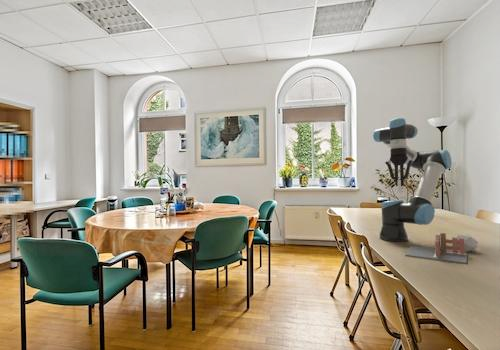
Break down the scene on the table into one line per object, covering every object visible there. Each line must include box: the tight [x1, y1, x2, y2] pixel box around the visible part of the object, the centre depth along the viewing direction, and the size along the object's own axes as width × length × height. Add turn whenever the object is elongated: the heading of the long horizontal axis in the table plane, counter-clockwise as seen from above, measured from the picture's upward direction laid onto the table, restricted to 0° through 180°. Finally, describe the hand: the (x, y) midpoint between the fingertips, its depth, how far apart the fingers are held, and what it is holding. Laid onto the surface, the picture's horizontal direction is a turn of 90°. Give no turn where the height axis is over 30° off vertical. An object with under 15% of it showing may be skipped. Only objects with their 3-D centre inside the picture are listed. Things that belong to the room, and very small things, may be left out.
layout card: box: [404, 245, 468, 265], centre depth 131 cm, size 20×23×1 cm
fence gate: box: [434, 234, 441, 257], centre depth 129 cm, size 13×2×7 cm, turn 144°
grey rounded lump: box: [456, 234, 479, 253], centre depth 135 cm, size 8×9×10 cm
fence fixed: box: [439, 232, 465, 254], centre depth 130 cm, size 9×2×9 cm, turn 51°
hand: (399, 192), depth 145 cm, fingers closed
